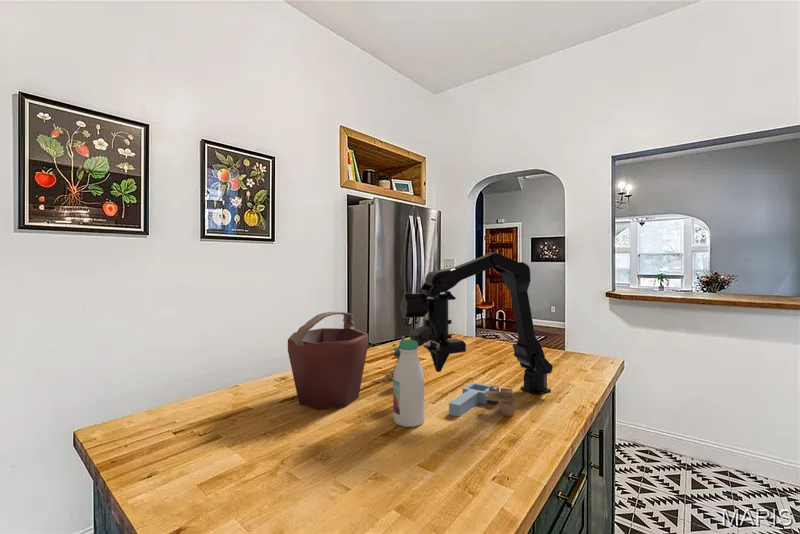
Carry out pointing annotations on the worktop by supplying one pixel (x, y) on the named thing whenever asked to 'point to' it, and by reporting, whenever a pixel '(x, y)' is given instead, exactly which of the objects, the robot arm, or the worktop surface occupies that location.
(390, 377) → the frog figurine
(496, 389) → the pintle
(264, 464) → the worktop surface
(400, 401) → the milk bottle
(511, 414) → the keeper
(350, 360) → the bucket
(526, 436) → the worktop surface
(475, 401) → the link
